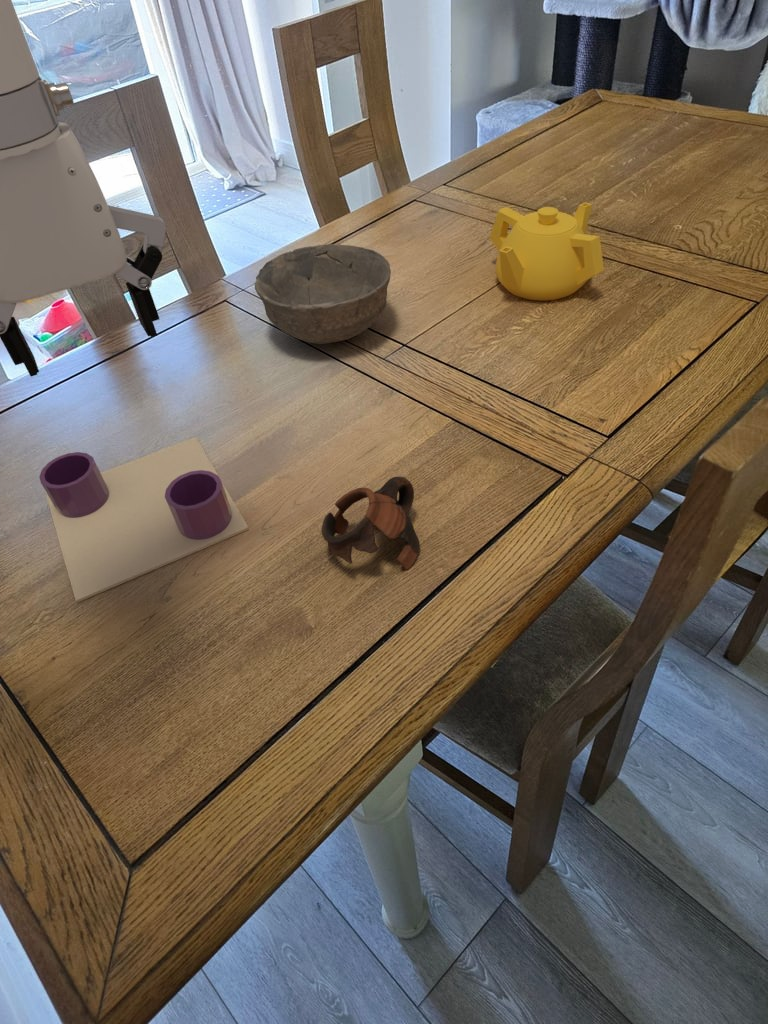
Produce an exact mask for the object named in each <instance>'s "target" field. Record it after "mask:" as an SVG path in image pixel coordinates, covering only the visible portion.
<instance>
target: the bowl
mask: <svg viewBox="0 0 768 1024" xmlns="http://www.w3.org/2000/svg"><path fill="white" fill-rule="evenodd" d="M391 273H392V270H391V264H390V262H389V261H388V259H386V258H385V257H384V256H383V255H382V254H381V253H380V252H378V251H376V250H373V249H370V248H365V247H363V246H356V245H348V244H347V245H345V244H334V243H329V244H319V245H312V246H311V245H309V246H304V247H300V248H295V249H294V250H292V251H287V252H283V253H282V254H279V255H277V256H276V257H274V258H273V259H271V260H269V261H267V262H266V263H265V264H264V265H263V266H262V268H260V269H259V271H258V274H257V275H256V276H255V279H256V280H255V282H254V289H255V293H256V294H257V296H258V297H259V298H260V300H261V301H262V304H263V306H264V311H265V314H266V315H265V316H266V317H267V319H268V320H269V321H270V322H271V323H272V325H274V326H275V327H276V328H278V329H279V330H280V331H281V332H282V333H284V334H287V335H288V336H290V337H293V338H295V339H297V340H300V341H303V342H306V343H309V344H316V345H324V344H325V345H326V344H331V343H337V342H342V341H347V340H349V339H352V338H353V337H357V336H359V335H361V334H363V333H364V332H365V331H366V330H368V329H369V328H370V327H371V326H372V325H373V324H374V323H375V322H376V321H377V320H378V319H379V318H380V316H381V315H382V314H383V312H384V310H385V309H386V306H387V300H388V299H387V297H388V287H389V283H390V281H391Z"/></svg>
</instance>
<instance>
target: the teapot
mask: <svg viewBox="0 0 768 1024" xmlns="http://www.w3.org/2000/svg"><path fill="white" fill-rule="evenodd" d="M592 208H593V204H592V203H589V202H583V203H581V204H578V207H577V209H576V211H575V212H574V214H573V215H571V214H569V213H565V212H562V211H559V209H558V208H556V207H553V206H544V207H541V208H539V209H538V210H537V211H533V212H530V213H526V214H525V215H523V214H521V213H519V212H517V211H515V210H513V209H511V208H509V207H508V206H505V207H502V208H501V209H499V210H498V211H497V213H496V217H495V219H494V222H493V224H492V225H493V226H492V228H491V231H490V234H489V239H490V241H491V242H492V244H493V245H494V246H495V248H496V250H497V252H498V254H497V259H496V262H495V275H496V279H497V280H498V282H500V284H501V285H502V286H503V287H504V288H505V289H506V291H507V292H509V293H511V294H512V295H514V296H516V297H519V298H520V299H525V300H529V301H540V302H544V301H554V300H559V299H560V300H561V299H563V298H567V297H568V296H571V295H573V294H575V292H577V291H578V290H579V289H581V288H582V287H583V286H584V285H585V284H586V283H587V282H588V280H591V278H594V277H595V276H596V275H599V274H600V273H602V272H603V271H604V270H605V267H604V259H603V252H602V242H601V236H600V235H593V234H587V230H588V226H589V223H590V222H589V221H590V217H591V212H592ZM510 226H511V227H512V228H511V229H510V230H509V227H510ZM508 230H509V233H508Z"/></svg>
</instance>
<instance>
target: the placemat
mask: <svg viewBox="0 0 768 1024" xmlns="http://www.w3.org/2000/svg"><path fill="white" fill-rule="evenodd" d="M198 470H204V471H211V472H213V473H214V474H216V475H218V476H219V473H218V472H217V471H216V469H215V466H213V463H212V462H211V460H210V458H209V456H208V455H207V453H206V451H205V449H204V448H203V446H202V445H201V443H200V441H199V439H198V437H197V436H194V437H192V438H189V439H186V440H183V441H181V442H178V443H175V444H173V445H170V446H167V447H165V448H163V449H160V450H157V451H154V452H152V453H150V454H147V455H144V456H141V457H138V458H136V459H133V460H130V461H128V462H125V463H122V464H120V465H117V466H115V467H112V468H109V469H106V470H103V471H100V472H101V474H102V477H103V479H104V481H105V483H106V485H107V487H108V489H109V497H108V499H107V501H106V503H105V504H104V505H103V506H102V507H101V508H100V509H98V510H97V511H95V512H93V513H91V514H89V515H86V516H83V517H78V518H69V517H65V516H63V515H61V514H60V513H59V512H58V510H57V509H56V508H55V506H54V504H53V503H52V501H51V499H50V498H49V496H48V494H47V492H45V496H46V500H47V504H48V508H49V511H50V515H51V518H52V521H53V525H54V530H55V533H56V536H57V540H58V543H59V547H60V550H61V554H62V558H63V561H64V564H65V568H66V572H67V575H68V579H69V582H70V586H71V589H72V593H73V596H74V600H75V603H76V604H77V603H80V602H82V601H84V600H86V599H87V600H88V599H89V598H91V597H94V596H96V595H99V594H101V593H103V592H106V591H108V590H111V589H113V588H114V587H117V586H119V585H122V584H124V583H126V582H129V581H132V580H133V579H136V578H138V577H141V576H143V575H146V574H148V573H150V572H153V571H155V570H157V569H159V568H161V567H162V568H163V567H164V566H167V565H169V564H172V563H173V562H176V561H178V560H181V559H183V558H185V557H188V556H190V555H192V554H195V553H197V552H200V551H202V550H204V549H206V548H209V547H211V546H214V545H215V544H219V543H221V542H223V541H226V540H228V539H230V538H232V537H235V536H237V535H239V534H241V533H244V532H246V531H248V530H249V526H248V525H247V523H246V521H245V519H244V518H243V516H242V514H241V512H240V510H239V509H238V507H237V505H236V504H235V502H234V500H233V499H232V497H231V494H230V492H229V491H228V489H227V488H226V486H225V484H224V483H223V482H222V484H223V487H224V490H225V493H226V496H227V499H228V502H229V505H230V508H231V513H232V518H231V521H230V523H229V525H228V526H227V527H226V528H225V529H224V530H223V531H222V532H221V533H219V534H217V535H215V536H213V537H211V538H207V539H201V540H195V539H189V538H187V537H185V536H183V535H182V534H181V533H180V531H179V530H178V527H177V525H176V523H175V520H174V518H173V516H172V513H171V511H170V509H169V506H168V504H167V502H166V499H165V492H166V489H167V487H168V486H169V484H170V483H171V482H172V481H173V480H175V479H176V478H177V477H179V476H180V475H183V474H185V473H188V472H191V471H198ZM219 478H220V480H221V481H222V478H221V477H220V476H219Z"/></svg>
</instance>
